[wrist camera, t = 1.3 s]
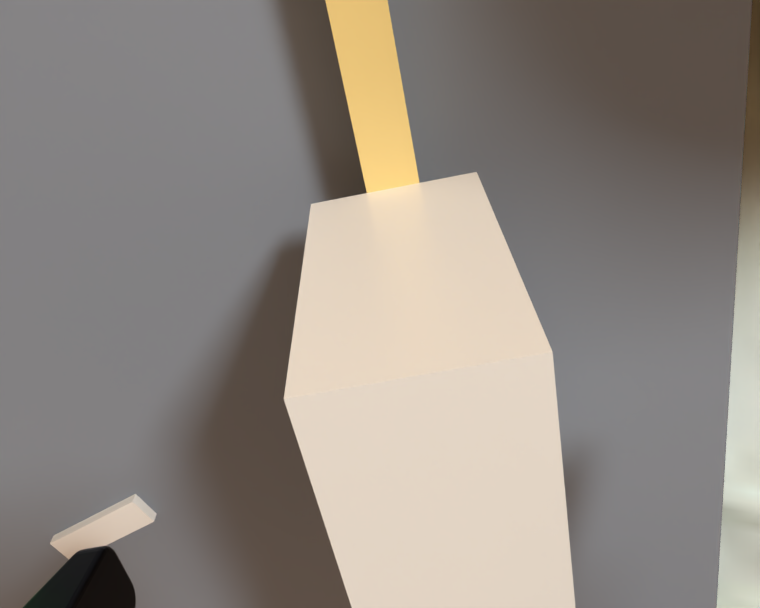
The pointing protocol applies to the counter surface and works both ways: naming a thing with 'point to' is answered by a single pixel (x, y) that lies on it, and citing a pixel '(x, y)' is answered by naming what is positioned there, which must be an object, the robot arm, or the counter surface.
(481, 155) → the dial board
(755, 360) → the counter surface
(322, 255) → the peg knob
